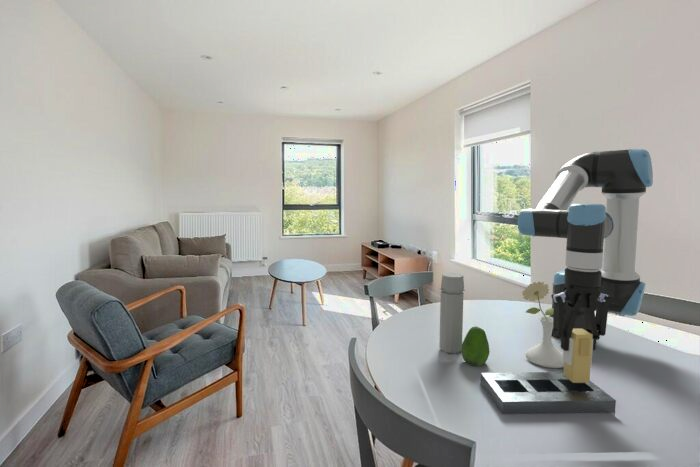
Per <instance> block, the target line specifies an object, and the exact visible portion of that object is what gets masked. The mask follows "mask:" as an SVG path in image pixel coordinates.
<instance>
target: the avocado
mask: <svg viewBox="0 0 700 467" xmlns="http://www.w3.org/2000/svg"><path fill="white" fill-rule="evenodd" d="M460 352H461V357H462V360H463V361H464V362H465V363H466V364H468V365H470V366H473V367H480V366H483V365H484V364H486V363H487V360H489V356H490V352H491V351H490V344H489V340H488V338H487V334H486V331H485V330H484V329H483V328H481V327H479V326H473V327H470V329H469V330H468V331H467V333H466V335H465V337H464V339H463V340H462V348H461V351H460Z"/></svg>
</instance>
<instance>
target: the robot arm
mask: <svg viewBox="0 0 700 467" xmlns="http://www.w3.org/2000/svg"><path fill="white" fill-rule="evenodd" d="M652 164H653V163H652V158H651V155H650V152H649V151H648V150H646V149H644V148H643V149H642V148H640V149H638V148H634V149H633V148H632V149H631V148H629V149H618V150H604V151H590V152H586V153H583V154H581V155H578V156H575V157H574V158H572V159H570V160H569V161H567V162H566V163H564V164H563V165H562V166H561V167H560V168H559V169H558V171H557V172H556V174H555V178H554V179H555V180H554V181H553V183H552V185H551V186H550V187H549V189H548V190H547V191H546V193H545V194H544V195H543V196H542V198H541V199H540V200H539V202H538V204H537V205H536V206H535V207H534V208H530V207H529V208H524V209H521V210H520V212H519V214H518V217H517V230H518V231H519V233H520V234H521V235H523V236H529V237H530V236H531V237H543V238H560V239H561V238H562V239H566V249H565V264H564V265H565V266H566V268H565V269H564V270H560V271H557V272H556V273H554V275H553V279H552V280H553V282H552V294H551V295H550V298H551V299H552V300H551V308H554V312H553V314H552V315H548V317H552V318H553V330H552V336H553V337H556V338H559V339H560V348H561V350H562V353H563V361H564V362H566V363H567V364H568V365H572V361H573V345H574V339H573V338H571V334H572V330H573V329H584V330H586V331H587V332H589V333H591V334H593V337H592V352H591V366H592V363H593V352H594V351H596V348H597V340H600V339H601V336H602V337H603V336H605V335H606V333H607V332H606V330H607V324H608V315H609V313H611V314H616V315H619V316H627V317H629V316H630V317H634V316H636V315H637V314H638V313H639V311H640V309H641V305H642V300H643V298H644V294H645V289H646V283H645V282H643V281H642V280H641V275H640V274H639V273H638V272H637V271H636V258H637V256H636V255H637V239H638V224H639V208H640V199H641V197H642V196H643V195H644V194H646V193H647V188H650V187H652V186H653V182H654V180H653V176H654V174H653V172H654V171H653V165H652ZM585 188H601V194H602V195H603V196H604V197H605V198H606V204H605V205H606V206H605V205H604V204H602V203H572V202H573V201H574V199H575V198H576V196H577V195H578V193H579V192H580V191H583V190H584V189H585Z"/></svg>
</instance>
